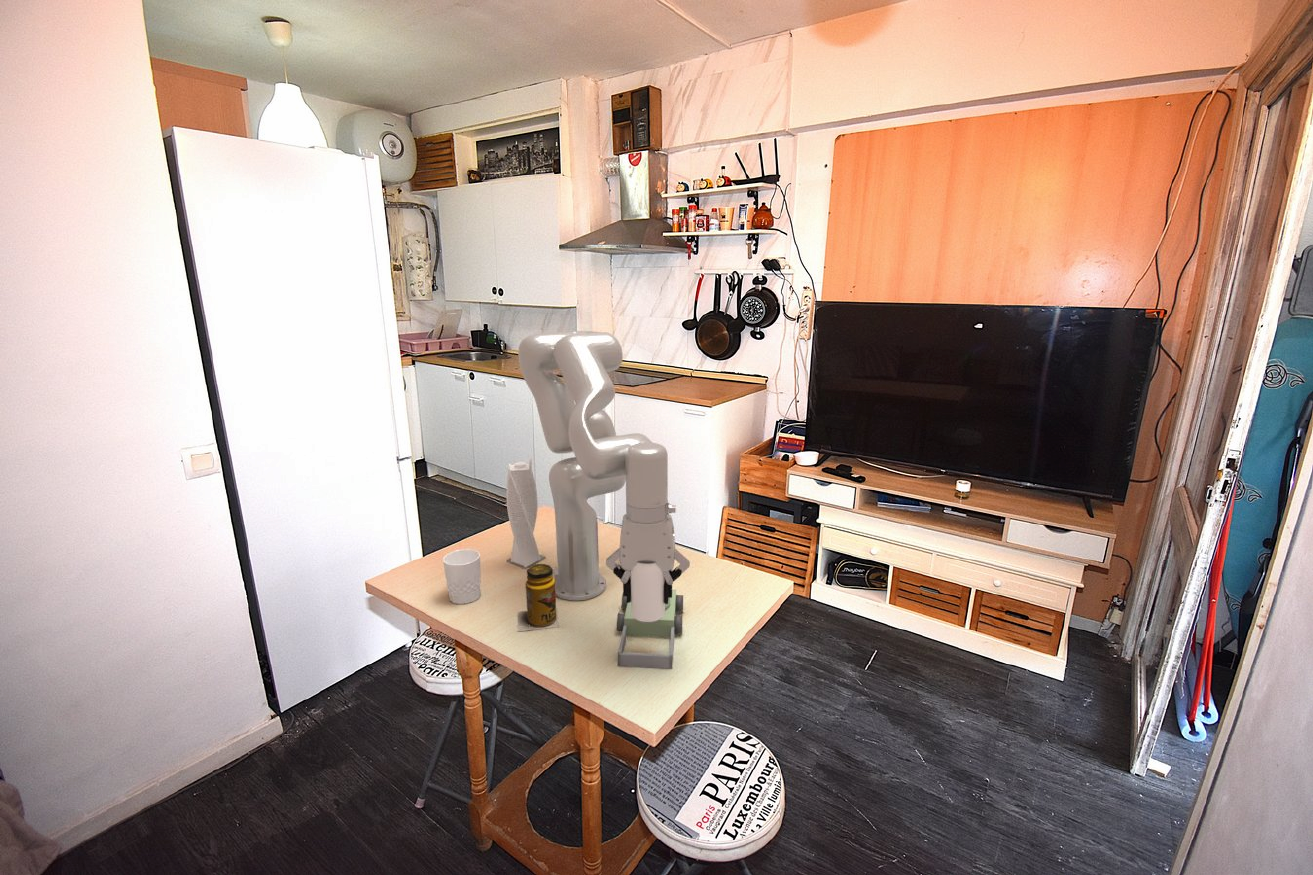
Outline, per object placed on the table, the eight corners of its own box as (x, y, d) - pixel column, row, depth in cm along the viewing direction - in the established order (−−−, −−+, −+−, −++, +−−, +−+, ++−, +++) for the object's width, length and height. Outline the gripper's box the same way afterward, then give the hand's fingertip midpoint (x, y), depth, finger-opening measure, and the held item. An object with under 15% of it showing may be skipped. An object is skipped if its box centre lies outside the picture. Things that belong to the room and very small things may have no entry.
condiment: (559, 627, 120) (557, 574, 117) (517, 632, 118) (514, 579, 115) (557, 608, 127) (554, 558, 124) (517, 613, 125) (514, 562, 122)
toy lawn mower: (609, 665, 108) (609, 642, 106) (623, 603, 128) (623, 583, 127) (680, 668, 107) (680, 645, 105) (683, 606, 127) (683, 585, 126)
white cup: (466, 584, 136) (463, 546, 134) (490, 593, 133) (487, 553, 130) (439, 600, 130) (435, 559, 127) (464, 609, 126) (460, 568, 123)
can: (627, 621, 107) (626, 562, 104) (635, 603, 113) (634, 547, 110) (661, 625, 106) (661, 565, 103) (667, 607, 112) (667, 550, 109)
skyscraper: (549, 559, 149) (544, 455, 142) (526, 572, 142) (520, 464, 135) (526, 551, 153) (520, 450, 146) (503, 563, 147) (495, 458, 140)
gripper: (694, 504, 108) (693, 591, 112) (602, 502, 109) (605, 588, 113) (694, 519, 100) (693, 611, 105) (596, 517, 101) (599, 608, 106)
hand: (647, 599), depth 109 cm, fingers closed on can, 6 cm apart
